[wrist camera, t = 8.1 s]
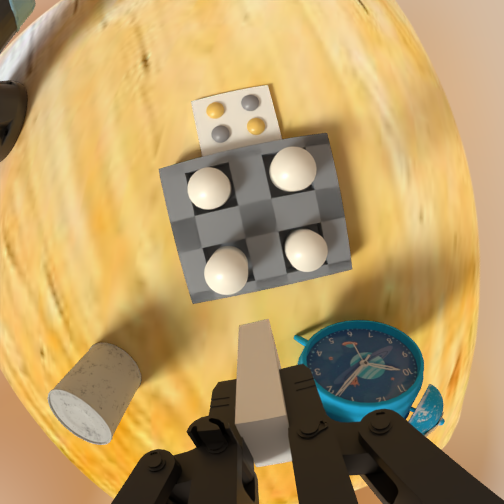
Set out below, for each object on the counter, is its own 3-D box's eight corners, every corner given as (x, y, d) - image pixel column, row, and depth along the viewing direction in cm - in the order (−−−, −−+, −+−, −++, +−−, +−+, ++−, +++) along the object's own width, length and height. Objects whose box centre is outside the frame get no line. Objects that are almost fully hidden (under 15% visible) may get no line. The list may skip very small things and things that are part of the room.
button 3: (265, 156, 26) (267, 150, 23) (303, 149, 26) (311, 143, 22) (273, 195, 27) (277, 194, 23) (311, 187, 27) (320, 186, 23)
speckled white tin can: (89, 379, 35) (54, 424, 23) (87, 333, 33) (41, 376, 21) (140, 400, 36) (114, 454, 24) (143, 355, 34) (109, 411, 22)
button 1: (191, 176, 28) (183, 173, 25) (227, 167, 28) (224, 162, 24) (199, 211, 29) (192, 213, 25) (235, 203, 29) (233, 204, 25)
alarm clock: (395, 304, 33) (490, 385, 13) (385, 366, 35) (449, 457, 15) (275, 318, 33) (300, 448, 13) (277, 383, 35) (294, 505, 15)
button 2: (205, 250, 28) (199, 257, 24) (243, 242, 28) (242, 248, 24) (214, 286, 29) (210, 298, 25) (251, 279, 28) (252, 290, 25)
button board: (166, 171, 29) (158, 169, 26) (319, 138, 29) (326, 132, 26) (197, 294, 32) (192, 303, 29) (343, 262, 32) (352, 269, 29)
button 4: (280, 231, 29) (284, 236, 26) (315, 224, 29) (324, 227, 26) (287, 267, 30) (291, 275, 27) (321, 259, 30) (330, 267, 26)
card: (192, 103, 28) (190, 100, 27) (267, 86, 27) (267, 83, 27) (203, 157, 29) (201, 156, 28) (281, 140, 29) (282, 138, 28)
